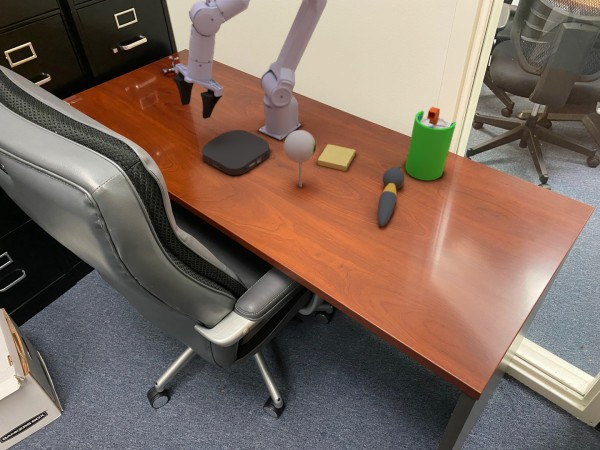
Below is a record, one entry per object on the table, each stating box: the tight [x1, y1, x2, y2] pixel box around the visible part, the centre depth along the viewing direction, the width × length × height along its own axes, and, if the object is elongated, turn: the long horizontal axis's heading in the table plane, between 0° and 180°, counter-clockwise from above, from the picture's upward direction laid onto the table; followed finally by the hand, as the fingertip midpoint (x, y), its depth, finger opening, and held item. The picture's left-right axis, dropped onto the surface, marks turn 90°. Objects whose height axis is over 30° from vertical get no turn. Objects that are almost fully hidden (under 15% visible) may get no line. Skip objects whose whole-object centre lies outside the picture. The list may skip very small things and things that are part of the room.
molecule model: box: [162, 55, 180, 76], centre depth 146 cm, size 6×12×8 cm, turn 41°
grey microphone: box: [377, 166, 405, 227], centre depth 100 cm, size 20×5×5 cm, turn 167°
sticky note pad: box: [317, 143, 356, 172], centre depth 113 cm, size 8×8×2 cm
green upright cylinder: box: [405, 106, 457, 181], centre depth 103 cm, size 9×8×18 cm
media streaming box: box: [201, 129, 271, 176], centre depth 114 cm, size 15×15×3 cm
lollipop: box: [283, 129, 317, 188], centre depth 101 cm, size 7×7×15 cm
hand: (195, 110), depth 112 cm, fingers open, 7 cm apart
